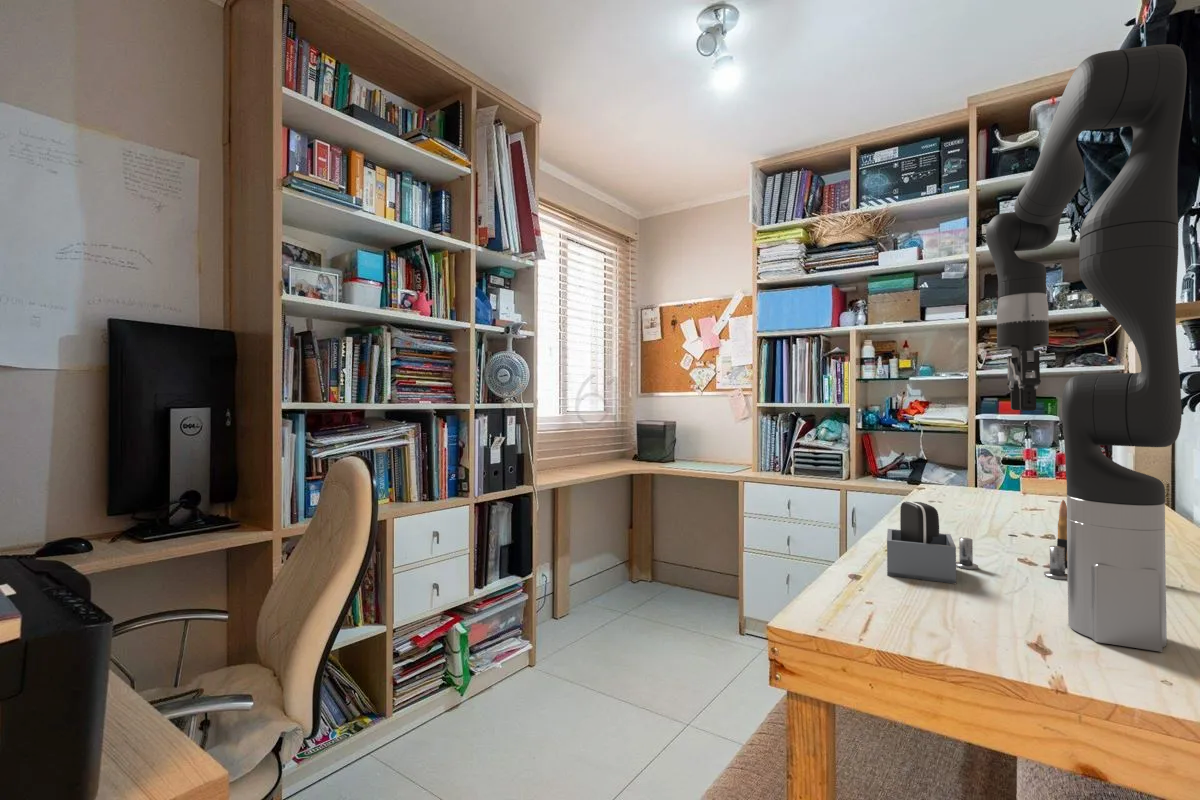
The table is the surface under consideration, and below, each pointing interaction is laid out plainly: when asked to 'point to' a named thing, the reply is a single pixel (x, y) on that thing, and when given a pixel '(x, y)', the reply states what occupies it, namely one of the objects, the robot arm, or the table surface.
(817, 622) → the table surface
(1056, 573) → the metal knobs
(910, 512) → the battery charger
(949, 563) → the bin
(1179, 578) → the table surface
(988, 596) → the table surface
